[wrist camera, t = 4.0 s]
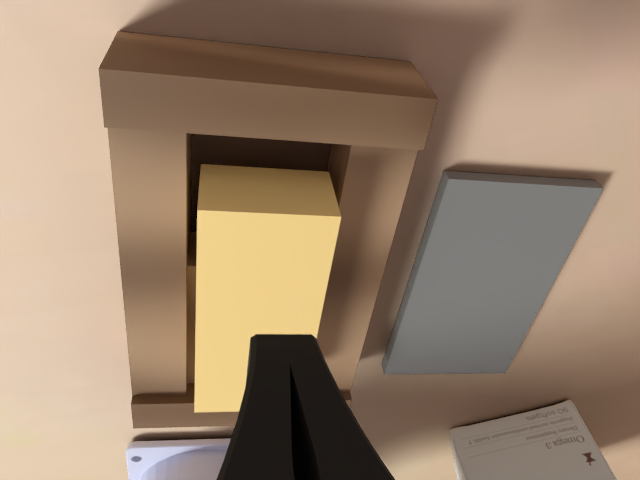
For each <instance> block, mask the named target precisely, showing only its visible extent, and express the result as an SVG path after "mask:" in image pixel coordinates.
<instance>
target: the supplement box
mask: <svg viewBox="0 0 640 480" xmlns="http://www.w3.org/2000/svg"><path fill="white" fill-rule="evenodd" d="M450 437H451V443H452V450H453V456H454V463H455V470H456V477H457V480H617V479H616V477H615V476H614V474H613V472H612V471H611V469H610V467H609V465H608V463H607V461H606V460H605V458H604V456H603V454H602V453H601V451H600V449H599V447H598V446H597V444H596V442H595V440H594V439H593V437H592V435H591V433H590V432H589V430H588V428H587V426H586V425H585V423H584V421H583V419H582V418H581V416H580V414H579V412H578V410H577V408H576V407H575V405H574V403H573V402H572V401H571V400H566V401H564V402H562V403H559V404H556V405H552V406H548V407H544V408H541V409H537V410H533V411H529V412H525V413H521V414H516V415H512V416H508V417H503V418H499V419H495V420H490V421H486V422H482V423H478V424H473V425H469V426H461V427H456V428H452V429H451V430H450Z"/></svg>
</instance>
